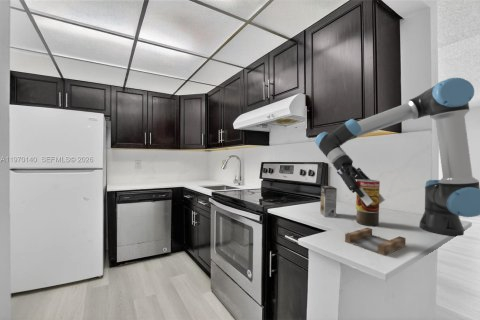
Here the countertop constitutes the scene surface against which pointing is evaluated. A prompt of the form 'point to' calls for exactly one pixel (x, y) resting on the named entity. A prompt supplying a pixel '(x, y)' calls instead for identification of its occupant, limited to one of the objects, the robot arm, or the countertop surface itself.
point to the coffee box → (328, 201)
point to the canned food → (372, 191)
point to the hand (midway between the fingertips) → (376, 202)
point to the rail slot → (374, 241)
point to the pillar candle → (368, 218)
